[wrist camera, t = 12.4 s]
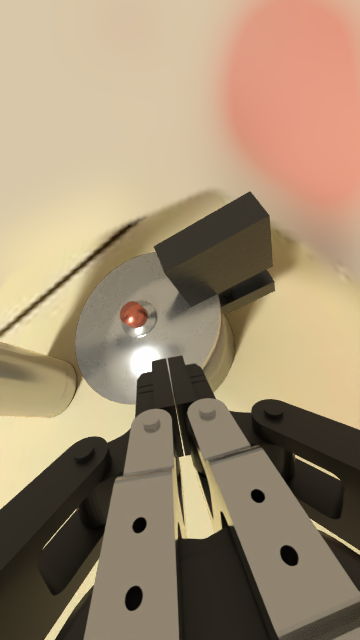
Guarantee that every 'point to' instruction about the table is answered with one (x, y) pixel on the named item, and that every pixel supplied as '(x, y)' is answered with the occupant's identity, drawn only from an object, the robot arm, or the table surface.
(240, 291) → the cooking pot
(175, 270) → the lid
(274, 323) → the table surface
